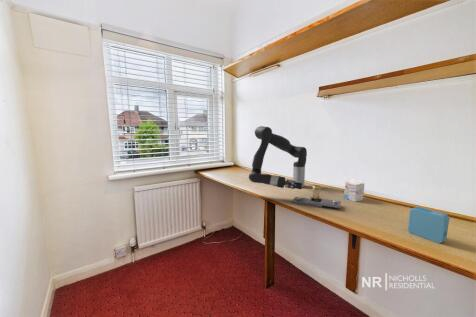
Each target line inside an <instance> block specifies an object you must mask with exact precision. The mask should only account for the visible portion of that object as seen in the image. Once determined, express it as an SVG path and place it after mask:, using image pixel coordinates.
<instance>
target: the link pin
mask: <svg viewBox="0 0 476 317" xmlns="http://www.w3.org/2000/svg"><path fill="white" fill-rule="evenodd" d="M311 188H312V197H313V201H317V202H319V198H321V197H320V196H321V194H320V193H321V190H322V186H321V185H319V184H312V186H311Z"/></svg>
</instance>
